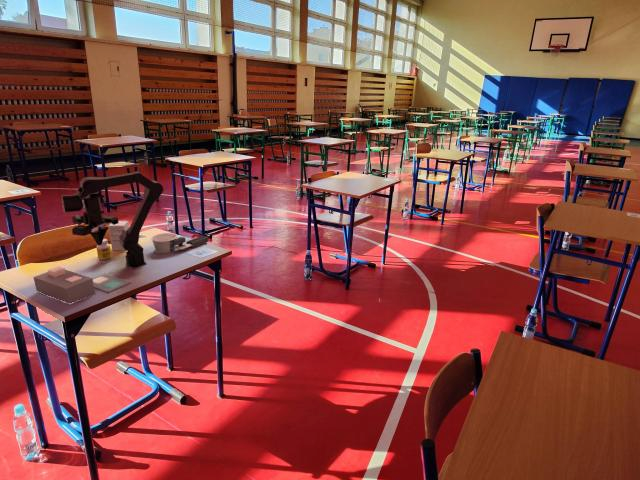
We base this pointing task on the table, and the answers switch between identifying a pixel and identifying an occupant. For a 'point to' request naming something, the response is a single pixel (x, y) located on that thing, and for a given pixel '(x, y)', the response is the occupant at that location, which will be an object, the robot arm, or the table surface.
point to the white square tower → (117, 234)
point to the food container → (164, 242)
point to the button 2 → (73, 279)
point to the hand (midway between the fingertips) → (99, 244)
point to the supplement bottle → (104, 251)
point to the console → (64, 286)
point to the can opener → (189, 242)
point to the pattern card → (108, 283)
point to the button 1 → (56, 271)
